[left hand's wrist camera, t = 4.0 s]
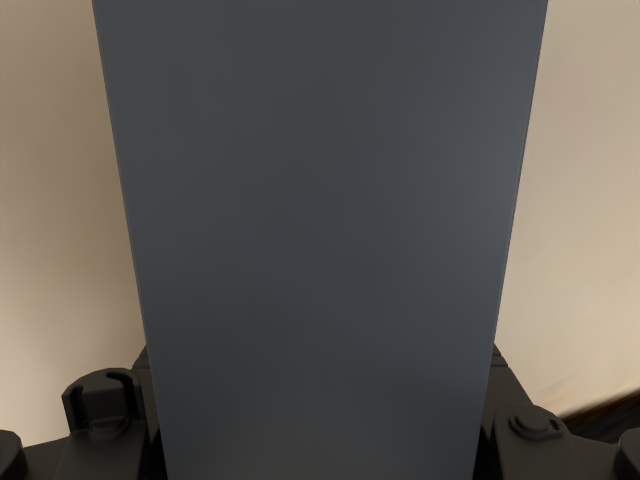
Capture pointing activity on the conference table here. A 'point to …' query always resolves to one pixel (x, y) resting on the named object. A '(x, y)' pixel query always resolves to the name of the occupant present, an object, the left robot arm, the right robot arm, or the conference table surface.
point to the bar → (320, 223)
